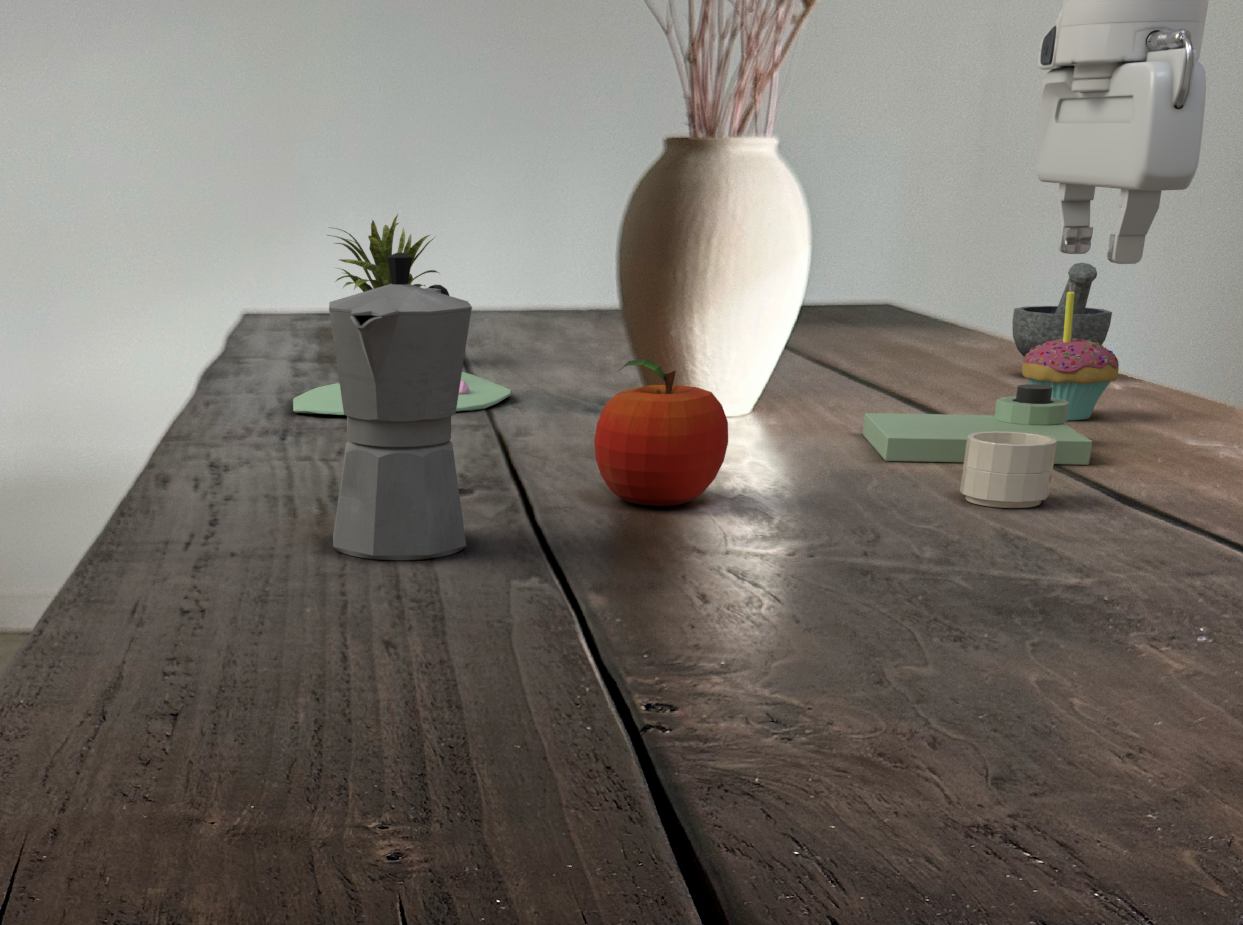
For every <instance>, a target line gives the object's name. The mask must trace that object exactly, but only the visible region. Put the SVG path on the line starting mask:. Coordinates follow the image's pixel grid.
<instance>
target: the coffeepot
mask: <svg viewBox="0 0 1243 925" xmlns="http://www.w3.org/2000/svg"><path fill="white" fill-rule="evenodd" d="M387 259H388V265H389V271H390V277H391V283H392V284H389V285H385V286H382V287H379V288H375V289H372V290H369V291H365V292H363V291H362V292H358V293H355V294H352V295H347V296H345V297H342V298H340V299H335V300H332V301H329V304H328V312H329V318H330V326H331V332H332V340H333V347H334V348H333V349H334V355H335V362H336V368H337V376H338V383H340V390H341V397H342V404H343V411H344V415H343V416H346V439H347V441H346V442H345V447H344V448H345V449H344V456H343V461H342V462H343V463H342V470H341V478H340V485H339V492H338V499H337V505H336V512H335V517H334V518H335V519H334V525H333V526H334V528H333V534H332V547H333V548H334V549H335V550H336V551H337V552H339V553H341V554H345V555H348V556H352V557H356V558H360V559H361V558H362V559H367V560H368V559H369V560H379V561H380V560H381V561H419V560H429V559H435V558H442V557H446V556H450V555H453V554H456V553H458V552H461V551H462V550H463V549H464V548H466V547H467V540H466V534H465V526H464V525H465V524H464V519H463V512H462V511H463V510H462V504H461V496H460V490H459V483H458V482H459V481H458V475H457V468H456V460H455V453H454V452H455V451H454V446H453V442H452V441H451V439H452V416H454V415H456V413H457V412H456V408H457V401H458V395H459V388H460V382H461V375H462V372H463V369H464V368H463V367H464V362H465V360H464V359H465V355H466V348H467V342H468V334H469V330H470V329H469V328H470V323H471V322H470V320H471V315H472V310H473V306H472V304H470V303H469V301H467V300H465V299H461V298H458V297H455V296H452V295H450V293H449V291H448V288H446V287H445V286H443V285H441V284H432V285H430V286H428V287H426V288H425V287H422V286H421V287H417V286H414V284H412V283H411V284H408V280H409V275H410V274H411V268H412V266H411V263H412V256H410V255H407V254H405V253H403V252H402V253H397V252H395V253H392V255H390V256H387Z"/></svg>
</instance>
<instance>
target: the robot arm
mask: <svg viewBox="0 0 1243 925" xmlns="http://www.w3.org/2000/svg"><path fill="white" fill-rule="evenodd" d="M1209 1H1210V0H1062V9H1061V10H1060V11H1059V13H1058V17H1057V18H1056V20H1055V22H1054V23H1053V24H1052V26H1050V28H1049V29H1048V31H1046V32H1045V33H1044V35H1043V36H1042V37H1041V40H1040V43H1039V48H1038V53H1037V54H1038V55H1037V67H1038V68H1039V69H1040V70H1043V71H1047V73H1046V74H1045V76H1044V78H1043V80H1042V82H1041V88H1040V93H1039V102H1038V112H1037V113H1038V114H1037V125H1036V140H1035V167H1036V173H1037V176H1038V180H1039V181H1040V182H1041V183H1052V184H1059V185H1058V192H1057V199H1056V200H1057V201H1056V202H1057V209H1058V217H1059V226H1060V232H1059V237H1058V238H1059V240H1058V245H1057V246H1058V251H1059V252H1060V253H1063V254H1067V255H1085V254H1087V253H1088V252H1089V251H1090V250H1091V246H1092V238H1093V233H1094V227H1093V226H1091V201H1094V199H1095V194H1096V187H1097V188H1107V189H1120V193H1119V194H1120V195H1119V200H1118V207H1119V208H1121V209H1120V213H1119V217H1118V220H1117V224H1116V228H1115V231H1114V234H1113V233H1112V234H1109V240H1108V250H1107V254H1106V257H1107V260H1108V261H1109V262H1110V263H1112V264H1116V265H1117V264H1118V265H1136V264H1138V263H1140V262H1141V260H1142V259H1143V255H1144V249H1145V248H1144V247H1145V242H1146V236H1147V235H1148V233H1149V230H1150V228H1151V226H1152V224H1153V221H1154V219H1155V217H1156V214H1157V213H1158V211H1159V208H1160V203H1161V196H1162V191H1182V190H1183V191H1184V190H1186V189H1188V188H1189V187H1190V185H1191V184H1192V182H1193V179H1194V177H1195V175H1196V173H1197V170H1198V167H1199V162H1200V154H1201V146H1202V137H1203V130H1204V129H1203V128H1204V118H1205V110H1206V109H1205V108H1206V99H1207V98H1206V96H1207V93H1206V92H1207V75H1206V70H1205V68H1204V65H1203V64H1202V63H1201V62H1199V60H1200V57H1201V52H1202V51H1201V50H1202V46H1203V45H1202V44H1203V38H1204V32H1205V25H1206V21H1207V20H1206V19H1207V14H1208V8H1209Z"/></svg>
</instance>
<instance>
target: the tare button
mask: <svg viewBox="0 0 1243 925" xmlns="http://www.w3.org/2000/svg"><path fill="white" fill-rule="evenodd" d="M1051 395H1052V387H1051V386H1046V385H1035V384H1030V383H1028V384H1019V385H1017V390H1016V395H1015V396H1016V401H1015V402H1020V403H1030V404H1049V403H1050V401H1051Z"/></svg>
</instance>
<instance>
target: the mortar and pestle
mask: <svg viewBox="0 0 1243 925" xmlns="http://www.w3.org/2000/svg"><path fill="white" fill-rule="evenodd" d="M1067 273H1068V280H1067V282H1066V285H1065V287H1064V290H1063V291H1062V292H1063V293H1062V294H1061V298H1060V300H1059V302H1058V305H1034V306H1033V305H1032V306H1029V305H1028V306H1021V307H1016V308H1013V316H1012V321H1011V322H1012V338H1013V341H1014V344H1015V346H1016V349H1017V351H1018V352H1019V353H1020V354H1021V356H1022V357H1023V358H1024V357H1025V356H1026V354H1027V353H1029V352H1030V350H1031V349H1032V348H1034V347H1036V346H1038V345H1040V344H1043V343H1046V342H1047V341H1048V340H1051V341H1054V340H1057V339H1063V336H1064V323H1065V310H1066V297H1067V292H1069V287H1070V283H1072V292H1074V306H1073V318H1072V331H1071V339H1073V338H1076V339H1084V340H1087V339H1088V341H1089V340H1091V341H1093V342H1098V343H1099V344H1100V345H1103V344H1104V343H1105V341H1106V339H1107V336H1108V333H1109V330H1110V327H1111V322H1112V317H1113V311H1110V310H1107V309H1104V308H1095V307H1087V304H1088V300H1089V295H1090V291H1091V288H1092V283H1093V282H1094V281H1095V280H1096V279H1097V277H1098V271H1097V268H1096V267H1095V266H1093V265H1092V264H1090V263H1088V262H1087V263H1086V262H1077V263H1074V264H1072V266H1071V267H1070V268H1069V269H1068V271H1067ZM1021 375H1022V376H1023V374H1022V373H1021Z"/></svg>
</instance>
